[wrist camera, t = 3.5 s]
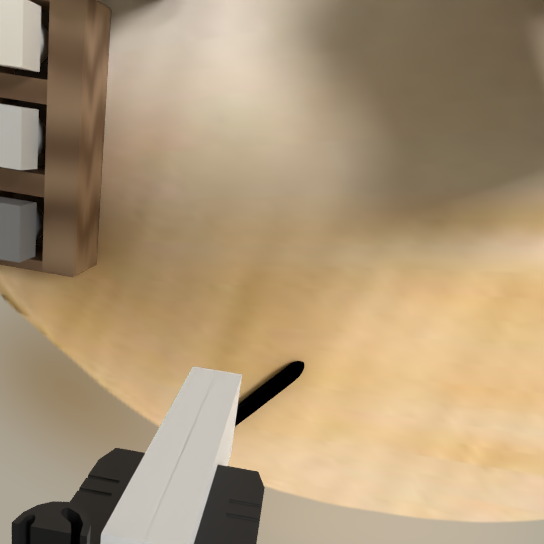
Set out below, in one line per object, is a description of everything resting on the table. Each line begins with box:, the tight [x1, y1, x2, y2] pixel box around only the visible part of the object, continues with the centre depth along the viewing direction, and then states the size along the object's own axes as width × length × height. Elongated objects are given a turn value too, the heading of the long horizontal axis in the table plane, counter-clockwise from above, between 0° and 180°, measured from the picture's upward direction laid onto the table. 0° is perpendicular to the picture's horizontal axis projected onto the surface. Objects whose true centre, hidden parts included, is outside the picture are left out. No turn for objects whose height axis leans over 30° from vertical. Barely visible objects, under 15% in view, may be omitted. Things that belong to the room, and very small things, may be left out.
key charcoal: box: [0, 197, 44, 263], centre depth 45 cm, size 5×5×5 cm
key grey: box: [0, 103, 46, 170], centre depth 42 cm, size 5×5×5 cm
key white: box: [0, 0, 49, 72], centre depth 40 cm, size 5×5×5 cm
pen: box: [235, 361, 304, 426], centre depth 52 cm, size 2×14×2 cm, turn 132°
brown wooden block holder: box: [0, 0, 111, 277], centre depth 45 cm, size 24×12×5 cm, turn 171°
